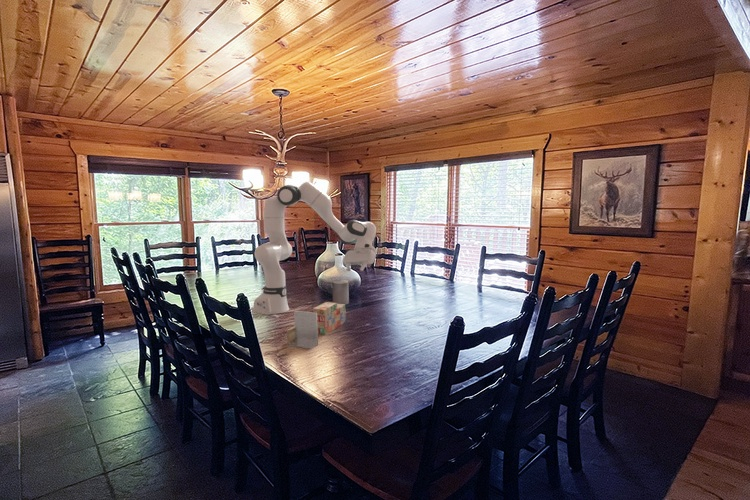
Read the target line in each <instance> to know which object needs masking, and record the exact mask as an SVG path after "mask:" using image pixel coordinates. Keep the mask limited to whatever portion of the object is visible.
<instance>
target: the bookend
mask: <svg viewBox="0 0 750 500" xmlns="http://www.w3.org/2000/svg"><path fill="white" fill-rule="evenodd" d="M293 317H294V326H295V341H294V342H292V343H291V344H290V343H288V346H289V347H293V348H294V347H295V348H299V349H307V350H312V349H313V348H315V347H316V346H318V345H319V336H318V335H319V334H318V325H317V313H313V312H312V311H303V310H302V311H301V310H297V309H296V310H295V309H294V311H293Z"/></svg>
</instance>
